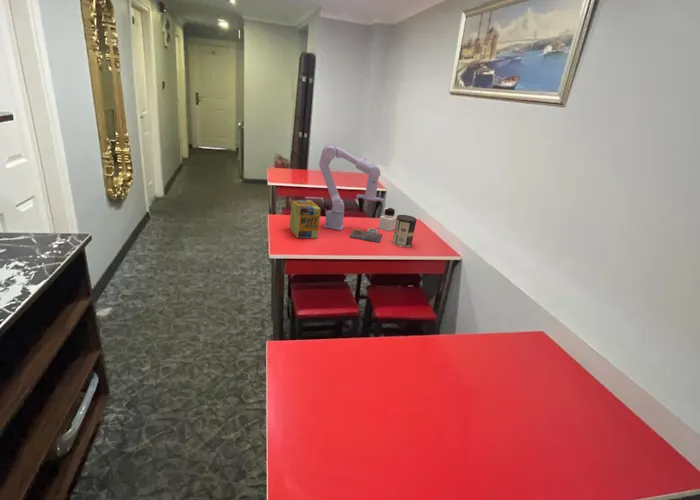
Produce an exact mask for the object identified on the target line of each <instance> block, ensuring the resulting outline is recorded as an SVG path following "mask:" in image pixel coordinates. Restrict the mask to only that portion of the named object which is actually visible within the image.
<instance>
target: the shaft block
mask: <svg viewBox="0 0 700 500" xmlns="http://www.w3.org/2000/svg"><path fill="white" fill-rule="evenodd" d="M366 236H367V231H365V230H362V229H359V228H354V229H353V230H352V231H351V233H350V234H349V239H355V240H360V241H361V240H362V241H365V242H371V243H378V244H381V241H382V239H383V234H382V233H378V235H377V238H376V239H374V238H369V237H366Z"/></svg>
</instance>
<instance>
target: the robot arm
mask: <svg viewBox="0 0 700 500" xmlns="http://www.w3.org/2000/svg"><path fill="white" fill-rule="evenodd" d="M335 158H336V159H344V160H346V161H347V162H349V163H351V164H354V165H355V168H356V169H357V170H359V171H361V172H363V173H364V174H366V175H367V174H368V175H367V181H366V187H365V188H366V189H365V193H364V194H359V193H356V199H357V203H358V205H359V212H360V213H362V212H363V204H364V200H366V201H371V202H375V208H374V213H373V215H374V216H375V215H376V214H377V211H378V209H379V207H380V206H381V203H382V204H383V203H384V201H385V200H384V198H383V197H377V190H378V185H379V177H380V176H381V170H380V168H379V167H378V166H377V165H376V164H374V163H372V162H369V161H367V158H365V157H363V158H362V157H360V158H357V157H356V156H354V155H352V154H351V153H349V152H347V151H346V150H344V149H342V148H341V147H338V146H335V145H334V144H332V143H331V144H330V143H329V144H326V145H325V146H324V147H323V149H322V151H321V155H320V159H319V164H318V166H319V169H320V172H321V175H322V176H323V180H324V183H325V185H326V188H327V191H328V194H329V197H330V199H331V204H332V208H331V209H328V210H327V211H326V213H325V219H324V220H325V221H324V226H323V227H324V228H326V229H331V230H336V231H342V230H343V228H344V227H345V224H344V225H343V223H344V218H345V216H344V215H345V209H346V208H345V202H344V200H343V198H341V196H340V193H339V191H338V189H337V188H338V187H337V186H336V182H335V180H334V179H335V178H334V177H333V175H332V171H331V168H330V166H329V165H330V164H331V162H332V160H334V159H335Z"/></svg>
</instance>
